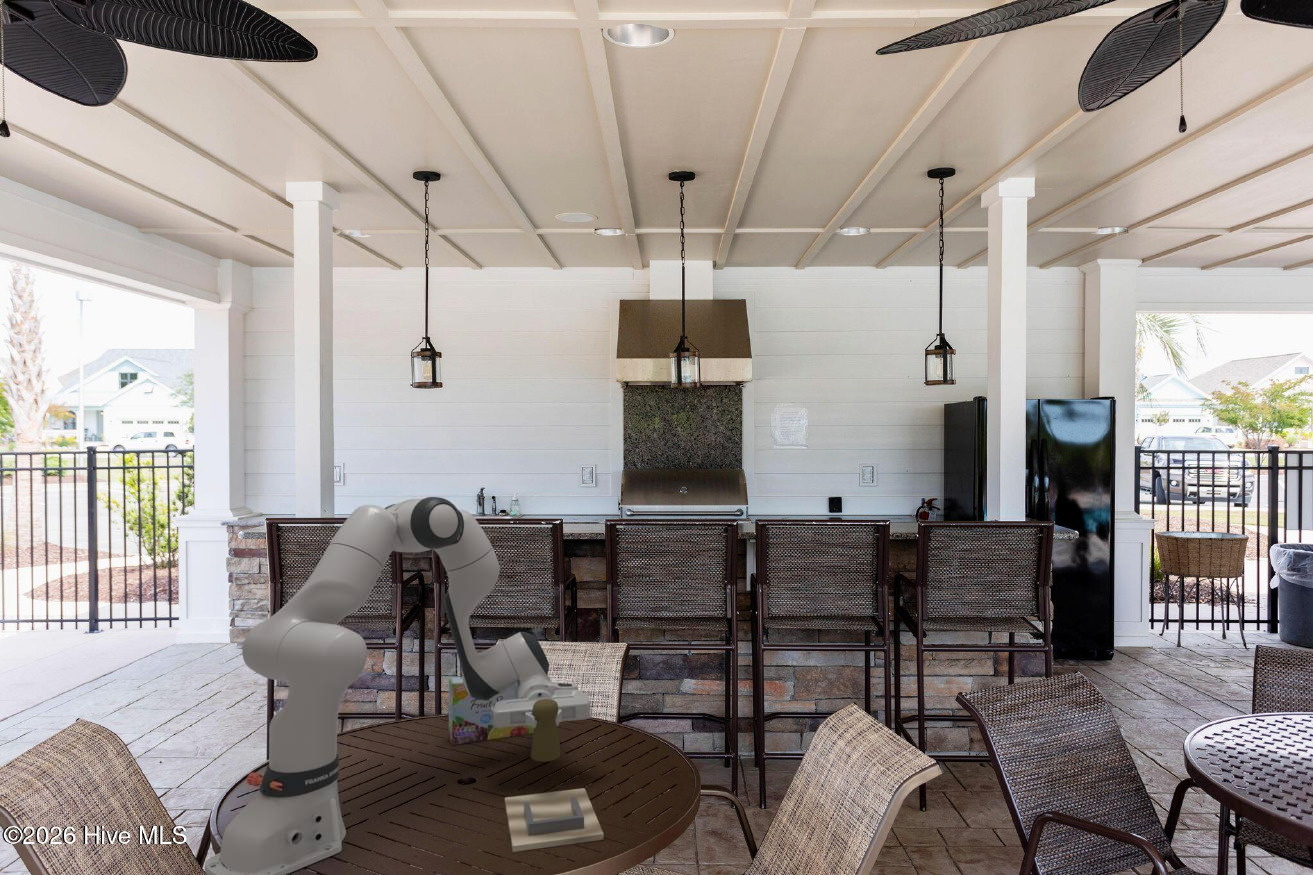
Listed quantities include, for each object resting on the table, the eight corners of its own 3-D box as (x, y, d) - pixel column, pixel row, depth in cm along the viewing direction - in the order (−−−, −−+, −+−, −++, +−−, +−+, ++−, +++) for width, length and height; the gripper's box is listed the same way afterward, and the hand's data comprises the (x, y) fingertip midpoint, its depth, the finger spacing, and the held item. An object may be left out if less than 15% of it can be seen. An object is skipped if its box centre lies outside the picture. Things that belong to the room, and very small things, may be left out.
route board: (504, 802, 152) (504, 797, 152) (584, 793, 156) (584, 788, 156) (512, 851, 133) (512, 846, 133) (603, 839, 137) (603, 833, 137)
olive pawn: (563, 749, 158) (562, 695, 158) (557, 761, 152) (557, 705, 152) (534, 749, 158) (533, 695, 158) (527, 761, 152) (527, 705, 152)
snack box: (452, 746, 183) (452, 683, 183) (448, 739, 188) (448, 677, 188) (538, 733, 192) (538, 672, 192) (532, 726, 197) (532, 666, 197)
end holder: (523, 813, 145) (523, 802, 145) (576, 806, 148) (576, 796, 148) (528, 835, 137) (528, 824, 137) (584, 828, 139) (584, 817, 139)
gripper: (489, 691, 165) (493, 712, 151) (583, 683, 170) (595, 702, 157) (489, 721, 165) (493, 744, 151) (583, 711, 170) (595, 733, 157)
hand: (546, 723), depth 154 cm, fingers closed on olive pawn, 2 cm apart
